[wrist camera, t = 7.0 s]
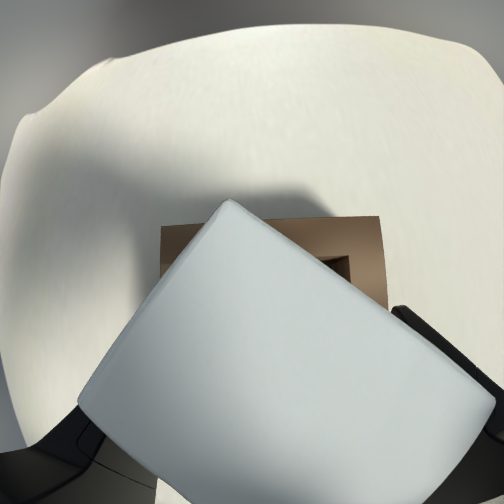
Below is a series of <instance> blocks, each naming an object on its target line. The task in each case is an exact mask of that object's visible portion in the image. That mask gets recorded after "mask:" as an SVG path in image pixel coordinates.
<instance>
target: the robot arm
mask: <svg viewBox="0 0 504 504" xmlns="http://www.w3.org/2000/svg"><path fill="white" fill-rule="evenodd" d="M391 313H392V314H393V315H394V316H396V317H397V318H398V319H400V320H401V321H402V322H404V323H405V324H406V325H408V326H409V327H411V328H412V329H413V330H415V331H416V332H417V333H419V334H420V335H421V336H423V337H424V338H425V339H427V340H428V341H429V342H431V343H432V344H433V345H435V346H436V347H437V348H438V349H439V350H441V351H442V352H443V353H444V354H445V355H447V356H448V357H449V358H450V359H451V360H453V361H454V362H455V363H456V364H457V365H458V366H460V367H461V368H462V369H463V370H464V371H465V372H466V373H467V374H469V375H470V376H471V377H472V378H473V379H474V380H475V381H477V382H478V383H479V384H480V385H481V386H482V387H483V388H484V389H486V390H487V391H488V392H489V393H490V394H491V395H492V396H493V397H495V400H496V404H495V407H494V409H493V411H492V413H491V415H490V416H489V418H488V420H487V422H486V423H485V425H484V427H483V429H482V430H481V432H480V434H479V435H478V437H477V438H476V440H475V441H474V443H473V444H472V446H471V447H470V448H469V450H468V451H467V453H466V454H465V455H464V457H463V458H462V459H461V461H460V462H459V463H458V464H457V466H456V467H455V468H454V469H453V471H452V472H451V473H450V474H449V475H448V476H447V478H446V479H445V480H444V481H443V482H442V483H441V485H440V486H439V487H438V488H437V489H436V490H435V491H434V492H433V493H432V494H431V495H430V496H429V497H428V498H427V499H426V500H425V501H424V502H423V503H422V504H504V390H503V389H502V388H501V387H499V386H498V385H497V384H496V383H495V382H493V381H492V380H491V379H490V378H489V377H488V376H487V375H485V374H484V373H483V372H482V371H481V370H480V369H479V368H478V367H476V365H474V364H473V363H472V362H471V361H470V360H469V359H468V358H467V357H466V356H464V355H463V354H462V353H461V352H460V351H459V350H458V349H457V348H455V347H454V346H453V345H452V344H451V343H450V342H449V341H447V340H446V339H445V338H444V337H443V336H442V335H440V334H439V333H438V332H437V331H436V330H435V329H433V328H432V327H431V326H430V325H429V324H427V323H426V322H425V321H424V320H423V319H421V318H420V317H419V316H418V315H417V314H415V313H414V312H413V311H412V310H411V309H409V308H408V307H407V306H405V305H400V306H394V307H393V308H392V311H391ZM157 480H158V477H157V476H155V475H154V474H153V473H151V472H150V471H148V470H147V469H146V468H144V467H143V466H142V465H141V464H139V463H138V462H137V461H135V460H134V459H133V458H132V457H131V456H129V455H128V454H127V453H126V452H125V451H124V450H122V449H121V448H120V447H119V446H118V445H117V444H116V443H115V442H113V441H112V440H111V439H110V438H109V437H108V436H107V435H106V434H105V433H104V432H103V431H102V430H101V429H100V428H99V427H97V426H96V425H95V424H94V423H93V422H92V421H91V420H90V418H89V417H88V416H87V415H86V414H85V413H84V412H83V411H82V409H81V408H80V407H79V405H77V406H76V407H75V408H74V409H73V410H72V411H71V412H70V413H69V414H68V415H67V416H66V417H65V418H64V419H63V420H62V421H61V422H60V423H59V424H57V425H56V426H55V427H54V428H53V429H52V430H51V431H50V432H49V433H48V434H47V435H45V436H44V437H43V438H42V439H41V440H40V441H39V442H37V443H36V444H34V445H32V446H30V447H28V448H25V449H20V450H15V451H10V452H5V453H0V504H155V496H156V487H157Z"/></svg>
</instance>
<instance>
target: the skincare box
mask: <svg viewBox="0 0 504 504" xmlns="http://www.w3.org/2000/svg"><path fill="white" fill-rule="evenodd" d="M77 402H78V405H79V407H80V408H81V409H82V411H83V412H84V413H85V414H86V415H87V416H88V417H89V418H90V420H91V421H92V422H93V423H94V424H95V425H96V426H97V427H99V428H100V429H101V430H102V431H103V432H104V433H105V434H106V435H107V436H108V437H109V438H110V439H111V440H112V441H113V442H115V443H116V444H117V445H118V446H119V447H120V448H121V449H122V450H124V451H125V452H126V453H127V454H128V455H129V456H131V457H132V458H133V459H134V460H135V461H137V462H138V463H139V464H141V465H142V466H143V467H144V468H146V469H147V470H148V471H150V472H151V473H153V474H154V475H155V476H157V477H158V478H160V479H161V480H163V481H164V482H165V483H167V484H168V485H170V486H171V487H172V488H173V489H175V490H176V491H177V492H178V493H179V494H180V495H182V496H183V497H184V498H185V499H186V500H188V501H189V502H190V503H192V504H422V503H423V502H424V501H425V500H426V499H427V498H428V497H429V496H430V495H431V494H432V493H433V492H434V491H435V490H436V489H437V488H438V487H439V486H440V485H441V483H442V482H443V481H444V480H445V479H446V478H447V476H448V475H449V474H450V473H451V472H452V471H453V469H454V468H455V467H456V466H457V464H458V463H459V462H460V461H461V459H462V458H463V457H464V455H465V454H466V453H467V451H468V450H469V448H470V447H471V446H472V444H473V443H474V441H475V440H476V438H477V437H478V435H479V434H480V432H481V430H482V429H483V427H484V425H485V423H486V422H487V420H488V418H489V416H490V415H491V413H492V411H493V409H494V407H495V404H496V400H495V397H493V396H492V395H491V394H490V393H489V392H488V391H487V390H486V389H484V388H483V387H482V386H481V385H480V384H479V383H478V382H477V381H475V380H474V379H473V378H472V377H471V376H470V375H469V374H467V373H466V372H465V371H464V370H463V369H462V368H461V367H460V366H458V365H457V364H456V363H455V362H454V361H453V360H451V359H450V358H449V357H448V356H447V355H445V354H444V353H443V352H442V351H441V350H439V349H438V348H437V347H436V346H435V345H433V344H432V343H431V342H429V341H428V340H427V339H425V338H424V337H423V336H421V335H420V334H419V333H417V332H416V331H415V330H413V329H412V328H411V327H409V326H408V325H406V324H405V323H404V322H402V321H401V320H400V319H398V318H397V317H396V316H394V315H393V314H392V313H390V312H389V311H387V310H386V309H385V308H383V307H382V306H381V305H379V304H378V303H376V302H375V301H374V300H372V299H371V298H370V297H368V296H367V295H366V294H364V293H363V292H361V291H360V290H359V289H357V288H356V287H355V286H353V285H352V284H351V283H349V282H348V281H347V280H345V279H344V278H343V277H341V276H340V275H338V274H337V273H336V272H334V271H333V270H332V269H330V268H329V267H328V266H326V265H325V264H323V263H322V262H321V261H319V260H318V259H317V258H315V257H314V256H312V255H311V254H310V253H308V252H307V251H305V250H304V249H303V248H301V247H300V246H298V245H297V244H295V243H294V242H293V241H291V240H290V239H288V238H287V237H285V236H284V235H282V234H281V233H280V232H278V231H277V230H275V229H274V228H272V227H271V226H270V225H268V224H267V223H265V222H264V221H262V220H261V219H259V218H258V217H257V216H255V215H254V214H252V213H251V212H249V211H248V210H247V209H245V208H244V207H243V206H241V205H240V204H238V203H237V202H236V201H234V200H232V199H227V200H225V201H223V202H222V203H221V204H220V206H219V207H218V208H217V209H216V211H215V212H214V213H213V215H212V216H211V217H210V218H209V219H208V221H207V222H206V223H205V224H204V225H203V227H202V228H201V229H200V230H199V231H198V233H197V234H196V235H195V236H194V237H193V239H192V240H191V241H190V242H189V244H188V245H187V246H186V247H185V249H184V250H183V251H182V252H181V254H180V255H179V256H178V257H177V259H176V260H175V261H174V262H173V264H172V265H171V266H170V267H169V269H168V270H167V271H166V273H165V274H164V275H163V276H162V278H161V279H160V280H159V282H158V283H157V284H156V286H155V287H154V288H153V290H152V291H151V292H150V294H149V295H148V296H147V298H146V299H145V300H144V302H143V303H142V304H141V306H140V307H139V308H138V310H137V311H136V313H135V314H134V315H133V317H132V318H131V320H130V321H129V322H128V324H127V325H126V326H125V328H124V329H123V330H122V332H121V333H120V335H119V336H118V337H117V339H116V340H115V342H114V343H113V344H112V346H111V347H110V349H109V350H108V352H107V353H106V355H105V356H104V358H103V359H102V361H101V362H100V364H99V365H98V367H97V368H96V370H95V371H94V373H93V374H92V376H91V377H90V379H89V381H88V382H87V384H86V385H85V387H84V388H83V390H82V392H81V393H80V395H79V397H78V400H77Z"/></svg>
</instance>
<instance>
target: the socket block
mask: <svg viewBox="0 0 504 504" xmlns="http://www.w3.org/2000/svg"><path fill="white" fill-rule="evenodd" d="M262 221H264V222H265V223H267V224H268V225H270V226H271V227H272V228H274V229H275V230H277V231H278V232H280V233H281V234H282V235H284V236H285V237H287V238H288V239H290V240H291V241H293V242H294V243H295V244H297V245H298V246H300V247H301V248H303V249H304V250H305V251H307V252H308V253H310V254H311V255H312V256H314V257H315V258H317V259H318V260H319V261H321V262H322V263H323V264H325V265H326V266H328V267H329V268H330V269H332V270H333V271H334V272H336V273H337V274H338V275H340V276H341V277H343V278H344V279H345V280H347V281H348V282H349V283H351V284H352V285H353V286H355V287H356V288H357V289H359V290H360V291H361V292H363V293H364V294H366V295H367V296H368V297H370V298H371V299H372V300H374V301H375V302H376V303H378V304H379V305H381V306H382V307H383V308H385V309H386V310H387V311H388V295H387V280H386V269H385V259H384V249H383V241H382V233H381V226H380V219H379V216H356V217H320V218H293V219H271V220H262ZM204 224H205V223H202V224H188V225H174V226H161V247H160V279H161V278H162V276H163V275H164V274H165V273H166V271H167V270H168V269H169V267H170V266H171V265H172V264H173V262H174V261H175V260H176V259H177V257H178V256H179V255H180V254H181V252H182V251H183V250H184V249H185V247H186V246H187V245H188V244H189V242H190V241H191V240H192V239H193V237H194V236H195V235H196V234H197V233H198V231H199V230H200V229H201V228H202V227H203V225H204Z"/></svg>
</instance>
